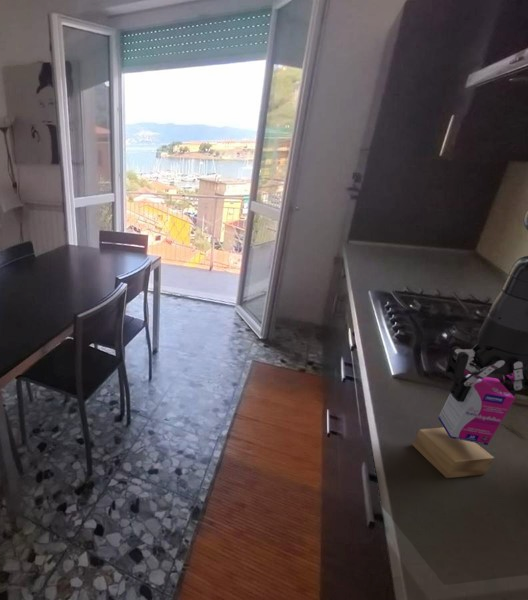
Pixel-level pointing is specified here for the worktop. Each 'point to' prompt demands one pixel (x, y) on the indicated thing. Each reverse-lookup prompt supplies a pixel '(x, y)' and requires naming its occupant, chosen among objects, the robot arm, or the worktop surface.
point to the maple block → (452, 453)
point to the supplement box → (477, 411)
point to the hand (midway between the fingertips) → (477, 400)
